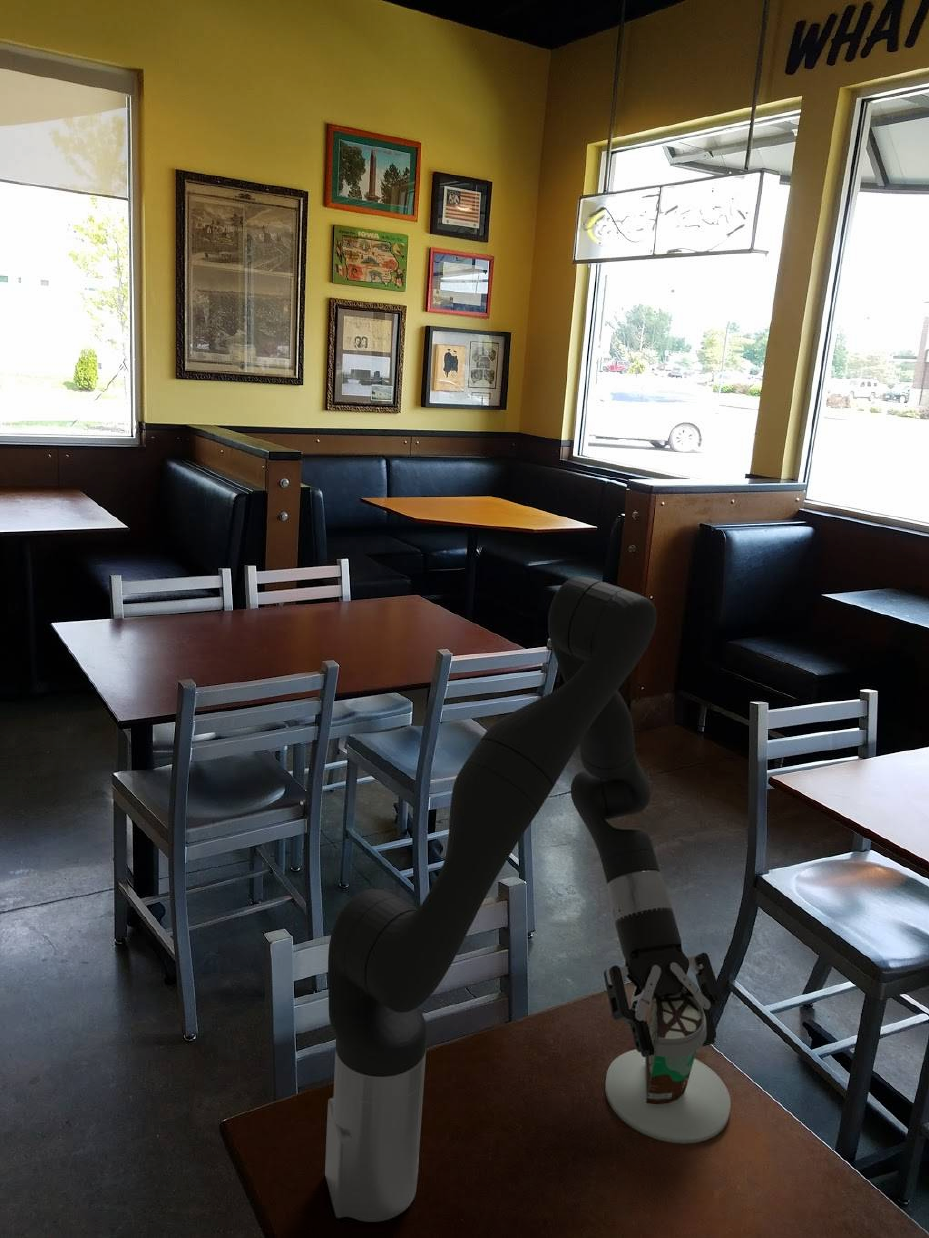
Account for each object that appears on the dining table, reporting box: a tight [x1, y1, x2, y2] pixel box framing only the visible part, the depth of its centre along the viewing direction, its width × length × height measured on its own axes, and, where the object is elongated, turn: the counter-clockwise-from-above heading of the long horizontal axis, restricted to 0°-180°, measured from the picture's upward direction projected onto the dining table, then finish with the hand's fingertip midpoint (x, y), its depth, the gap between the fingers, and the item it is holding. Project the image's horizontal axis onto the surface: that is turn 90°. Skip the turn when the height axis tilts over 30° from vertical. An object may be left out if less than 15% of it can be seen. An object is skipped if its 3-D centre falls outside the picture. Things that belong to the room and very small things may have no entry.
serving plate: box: [604, 1048, 732, 1145], centre depth 119 cm, size 15×15×1 cm
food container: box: [645, 988, 707, 1104], centre depth 118 cm, size 12×6×10 cm, turn 171°
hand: (679, 1050), depth 116 cm, fingers closed on food container, 8 cm apart
